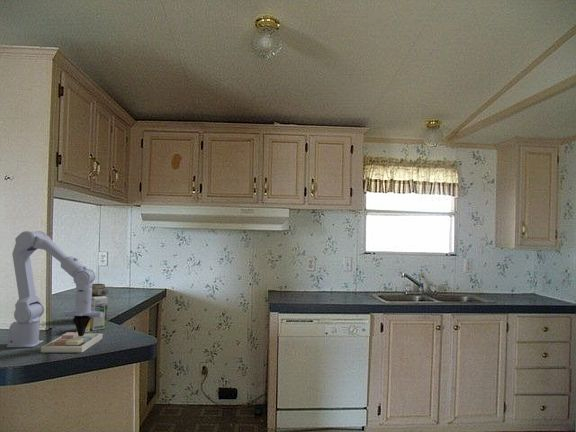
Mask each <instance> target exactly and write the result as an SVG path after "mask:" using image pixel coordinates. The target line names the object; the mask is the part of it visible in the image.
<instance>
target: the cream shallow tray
mask: <svg viewBox="0 0 576 432" xmlns="http://www.w3.org/2000/svg"><path fill="white" fill-rule="evenodd" d="M84 334H91V333H88V332H86V333H84ZM94 334H95V337H94V338H89V341H88V342H82V343H81V344H79V345H66V344H65V345H64V346H54V342H56V341H58V340H59V339H62V335H61V336H59V337H57V338H55V339H53V340H52V341H50V342H47V343H46V344H44V345H42V346H40V353H43V354H44V353H45V354H46V353H47V354H50V353H52V354H53V353H54V354H55V353H61V354H62V353H63V354H64V353H65V354H66V353H69V354H70V353H73V354H74V353H76V354H79V353H80V354H82V353H84V352H85V351H86V350H87V349H89V348H91V347H92V346H93V345H95V344H97V343H98V342H100V341H102V339H104V337H103V335H104V334H103V333H94ZM78 337H79V336H77V337H76V338H78Z"/></svg>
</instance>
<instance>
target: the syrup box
mask: <svg viewBox="0 0 576 432" xmlns="http://www.w3.org/2000/svg"><path fill="white" fill-rule="evenodd" d="M108 299H109V298H108V296H107V295H105V296H98V297H92V300H91V311H98V312H103V313H102V317H101V318H98V317H91V319H90V330H92V331H97V330H99V331H100V330H105V329H107V316H108Z"/></svg>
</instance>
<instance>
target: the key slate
mask: <svg viewBox="0 0 576 432" xmlns="http://www.w3.org/2000/svg"><path fill="white" fill-rule="evenodd" d="M78 338H83V342H88V341H89V338H90V337H78Z"/></svg>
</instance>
